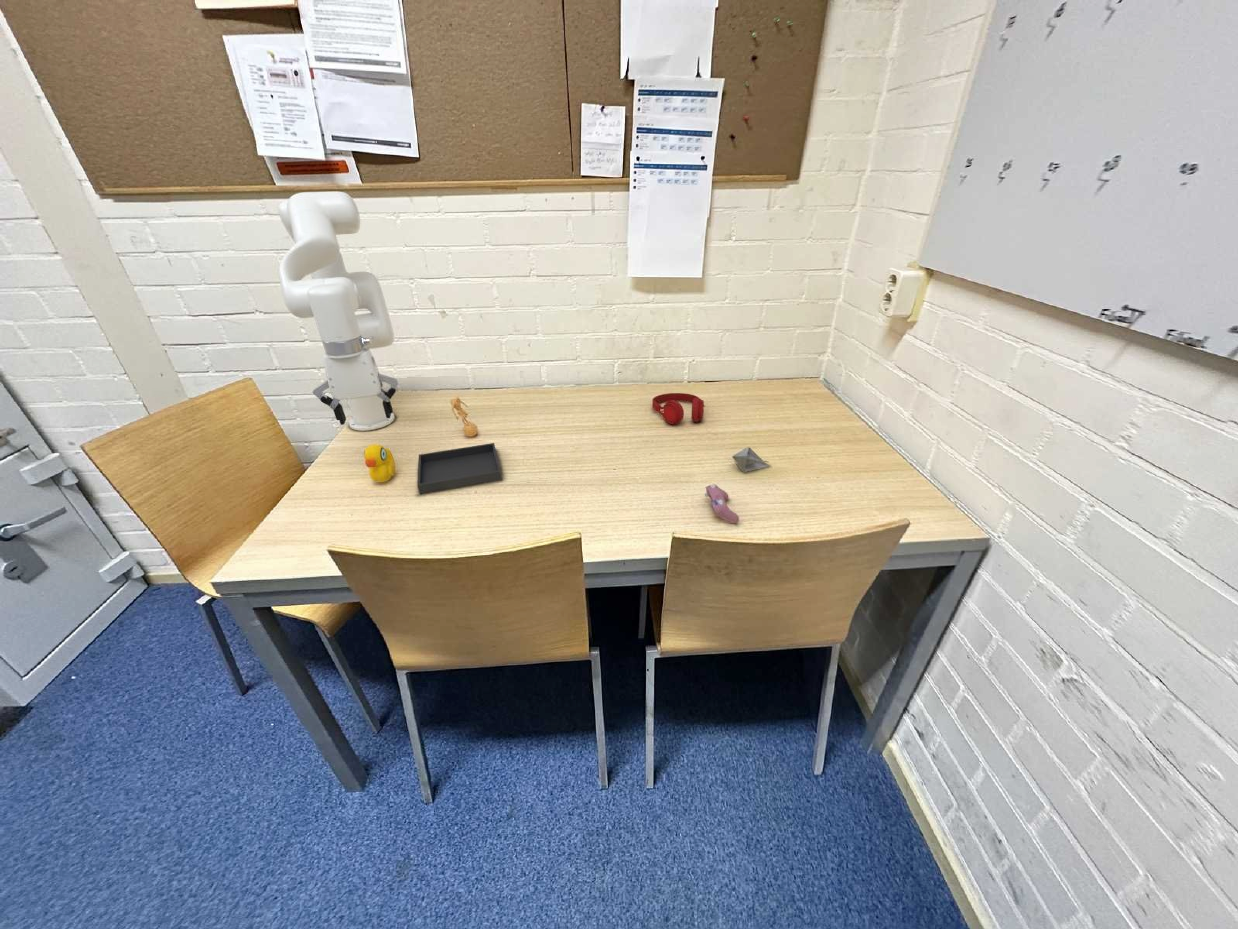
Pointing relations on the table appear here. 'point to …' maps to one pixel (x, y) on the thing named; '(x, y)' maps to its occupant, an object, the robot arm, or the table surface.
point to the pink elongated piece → (721, 503)
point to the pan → (458, 468)
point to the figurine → (469, 427)
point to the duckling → (379, 463)
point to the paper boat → (748, 460)
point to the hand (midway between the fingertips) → (366, 419)
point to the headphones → (678, 407)
